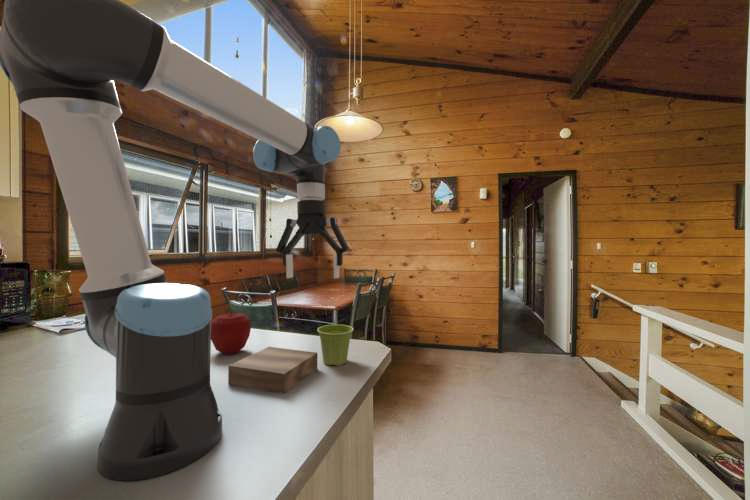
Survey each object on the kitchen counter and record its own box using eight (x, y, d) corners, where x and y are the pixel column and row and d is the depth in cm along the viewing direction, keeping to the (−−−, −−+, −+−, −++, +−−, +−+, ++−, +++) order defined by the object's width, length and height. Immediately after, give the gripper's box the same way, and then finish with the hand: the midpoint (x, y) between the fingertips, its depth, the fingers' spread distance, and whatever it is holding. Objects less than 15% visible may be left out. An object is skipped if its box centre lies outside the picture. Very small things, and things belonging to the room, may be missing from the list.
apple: (238, 344, 96) (238, 306, 96) (258, 351, 90) (259, 310, 90) (201, 353, 87) (201, 311, 87) (221, 362, 81) (221, 316, 81)
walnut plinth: (284, 393, 64) (284, 373, 64) (228, 384, 68) (228, 365, 68) (317, 368, 77) (317, 352, 77) (268, 362, 81) (268, 346, 81)
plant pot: (360, 361, 82) (360, 328, 82) (332, 371, 75) (332, 335, 75) (337, 353, 89) (337, 322, 89) (309, 361, 82) (310, 328, 82)
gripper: (358, 200, 88) (360, 276, 88) (275, 203, 92) (277, 276, 93) (352, 197, 80) (353, 279, 81) (262, 200, 84) (264, 279, 85)
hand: (313, 277), depth 87 cm, fingers open, 13 cm apart
